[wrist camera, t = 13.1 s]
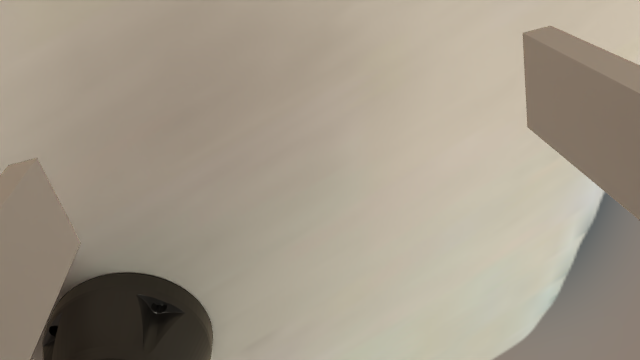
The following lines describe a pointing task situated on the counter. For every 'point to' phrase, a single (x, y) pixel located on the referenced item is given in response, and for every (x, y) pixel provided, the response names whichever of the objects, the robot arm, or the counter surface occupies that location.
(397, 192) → the counter surface
